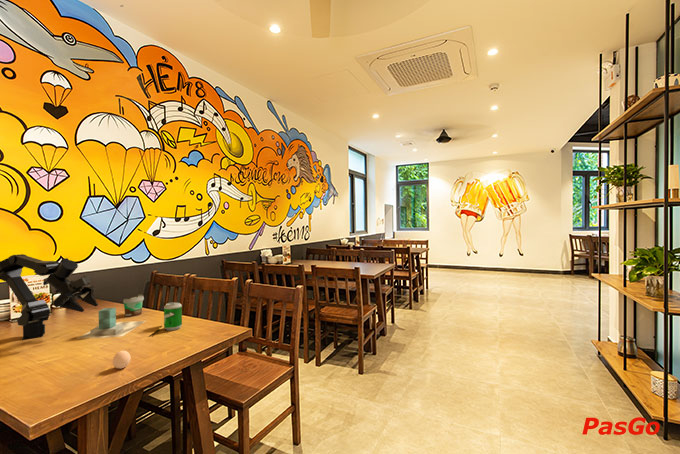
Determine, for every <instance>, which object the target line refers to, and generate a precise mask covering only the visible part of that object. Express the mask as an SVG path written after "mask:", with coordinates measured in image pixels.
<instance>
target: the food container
mask: <svg viewBox="0 0 680 454" xmlns="http://www.w3.org/2000/svg"><path fill="white" fill-rule="evenodd" d="M144 300H145V297H144V295H143V294H137V296H135V297H134V296H133V297H130V298H124V299H123V300H122V304H123V307H124V318H132V317H137V316H140V315H142V312H143V301H144Z"/></svg>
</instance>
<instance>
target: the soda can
mask: <svg viewBox="0 0 680 454" xmlns="http://www.w3.org/2000/svg"><path fill="white" fill-rule="evenodd" d="M182 309H183V305H182V304H181V303H180V302H177V301H175V302H173V301H172V302H168V303H167V302H166V304H165V305H164V307H163V328H164V329H165V330H166V331H169V332H171V331H172V332H173V331H177V330H179V329H181V327H182V326H183V310H182Z"/></svg>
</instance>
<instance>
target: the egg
mask: <svg viewBox="0 0 680 454" xmlns="http://www.w3.org/2000/svg"><path fill="white" fill-rule="evenodd" d="M130 362H131V354H130V353H129V352H128V351H126V350H120V351H118V352H116V354H115V355H114V356H113V358H112V365H113V367H114V368H116V369H117V370H118V369H120V370H121V369H124V368H126V367H127V366H128V365H129V364H130Z"/></svg>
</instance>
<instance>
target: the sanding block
mask: <svg viewBox="0 0 680 454" xmlns="http://www.w3.org/2000/svg"><path fill="white" fill-rule="evenodd" d="M116 310H117V308H116V307H106V308H105V307H104V308H103V309H100V310H98V326H96V327H95V328H93V329H90V331H89V332H90V336H100V335H116V334H118V333H119V332H121V331H123V330H124V324H121V325H116V322H117V317H116V316H117V314H116V313H117V311H116Z"/></svg>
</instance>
